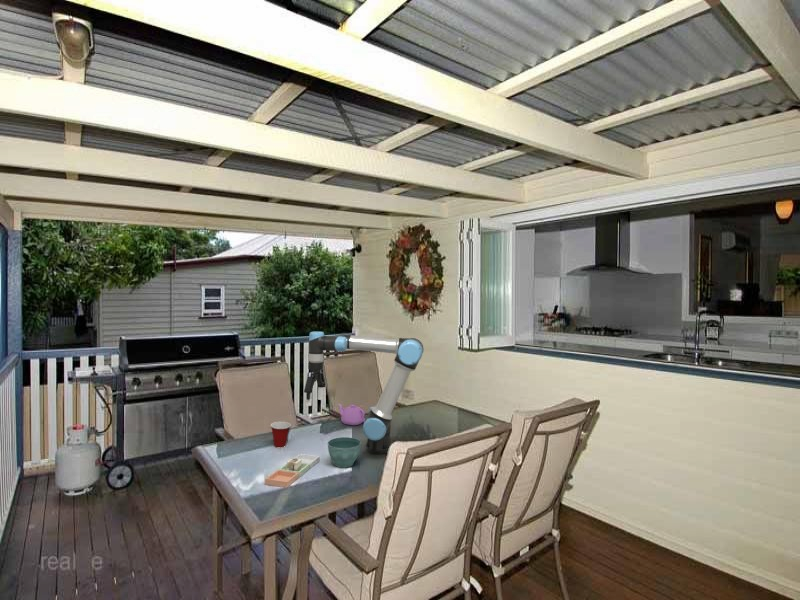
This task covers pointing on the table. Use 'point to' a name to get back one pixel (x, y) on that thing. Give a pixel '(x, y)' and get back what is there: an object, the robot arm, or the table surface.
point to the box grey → (309, 459)
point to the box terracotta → (281, 478)
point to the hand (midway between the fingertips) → (314, 402)
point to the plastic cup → (280, 433)
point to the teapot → (352, 415)
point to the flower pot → (344, 451)
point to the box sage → (303, 470)
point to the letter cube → (294, 464)
